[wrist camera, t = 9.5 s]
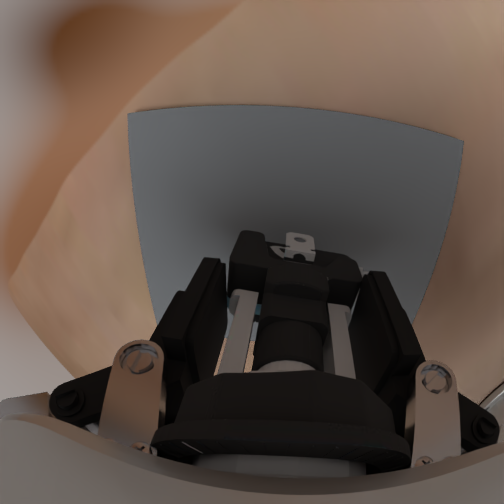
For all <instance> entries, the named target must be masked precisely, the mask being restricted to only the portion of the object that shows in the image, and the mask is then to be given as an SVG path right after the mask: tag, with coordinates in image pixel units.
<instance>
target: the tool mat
mask: <svg viewBox="0 0 504 504" xmlns="http://www.w3.org/2000/svg"><path fill="white" fill-rule="evenodd" d="M128 137H129V154H130V167H131V178H132V187H133V196H134V205H135V212H136V220H137V226H138V233H139V239H140V245H141V251H142V257H143V262H144V268H145V273H146V278H147V283H148V287H149V292H150V296H151V301H152V305H153V310H154V314H155V318H156V322H157V325H158V324H159V322H160V320H161V318H162V316H163V315H164V313H165V311H166V309H167V308H168V306H169V304H170V302H171V301H172V299H173V297H174V295H175V294H176V292H177V291H179V290H181V291H185V290H186V288H187V286H188V285H189V283H190V281H191V279H192V277H193V276H194V274H195V272H196V270H197V268H198V266H199V265H200V263H201V261H202V259H203V258H204V257H210V258H220V260H221V263H225V264H226V285H227V283H228V270H229V257H230V255H231V252H232V250H233V248H234V245H235V243H236V241H237V238H238V236H239V234H240V232H241V231H243V230H250V231H256V232H261V233H263V234H264V235H265V239H266V241H267V242H273V243H280V244H286V233H289V232H293V233H299V234H305V235H310V236H311V237H313V238H314V245H315V249H316V250H322V251H328V252H334V253H340V254H344V255H347V256H348V257H350V258H351V259H353V260H355V261H356V262H357V264H358V266H359V267H361V268H363V271H366V272H369V271H384V272H386V274H387V276H388V278H389V280H390V282H391V284H392V286H393V288H394V291H395V293H396V295H397V297H398V299H399V301H400V304H401V306H402V308H403V309H404V310H405V311H406V313H407V316H408V318H409V320H410V323H411V325H412V323H413V320H414V318H415V316H416V314H417V311H418V309H419V307H420V304H421V302H422V300H423V297H424V295H425V292H426V290H427V287H428V284H429V282H430V279H431V276H432V274H433V271H434V268H435V265H436V262H437V259H438V256H439V253H440V250H441V247H442V243H443V240H444V237H445V233H446V230H447V226H448V222H449V219H450V215H451V211H452V206H453V202H454V198H455V193H456V188H457V183H458V178H459V172H460V166H461V160H462V153H463V145H464V141H462V140H459V139H456V138H453V137H450V136H447V135H444V134H440V133H437V132H433V131H430V130H426V129H422V128H419V127H415V126H411V125H407V124H402V123H398V122H393V121H389V120H384V119H379V118H374V117H368V116H362V115H356V114H350V113H343V112H336V111H328V110H319V109H309V108H298V107H283V106H260V105H217V106H194V107H180V108H168V109H159V110H150V111H142V112H135V113H128ZM294 240H295V241H297V242H306V241H305V240H303V239H300V238H295V239H294ZM355 304H356V302H354V304H353V307H352V309H351V315H352V314H353V310H354V307H355ZM227 313H228V325H227V330H226V334H225V337H224V338H228V335H229V332H230V328H231V325H232V321H233V318H234V315H232V314H231V313H230V312H229V308H228V307H227ZM351 317H352V316H351ZM348 326H349V325H348ZM257 328H258V323H257V322H254V323H253V328H252V333H251V338H250V341H255V340H256V334H257Z"/></svg>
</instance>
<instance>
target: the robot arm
mask: <svg viewBox="0 0 504 504" xmlns="http://www.w3.org/2000/svg"><path fill="white" fill-rule="evenodd" d="M227 325H228V313H227V285H226V264H225V263H221V260H220V258H210V257H204V258H203V259H202V261H201V263H200V265H199V266H198V268H197V270H196V272H195V274H194V276H193V277H192V279H191V281H190V283H189V285H188V286H187V288H186V290H185V291H181V290H179V291H177V292H176V294H175V295H174V297H173V299H172V301H171V302H170V304H169V306H168V308H167V309H166V311H165V313H164V315H163V316H162V318H161V320H160V322H159V324H158V325H157V327H156V329H155V331H154V333H153V334H152V336H151V338H150V340H135V341H132V342H129V343H127V344H125V345H124V346H122V347H121V348H120V349H119V350H118V351H117V353H116V355H115V357H114V361H113V365H112V366H110V367H107V368H105V369H102V370H99V371H97V372H94V373H91V374H88V375H85V376H83V377H80V378H77V379H74V380H71V381H69V382H66V383H63V384H61V385H59V386H58V387H57V388H56V389H54V391H53V392H52V394H51V395H49V394H48V392H43V393H38V394H32V395H26V396H20V397H14V398H8V399H5V400H2V401H1V402H0V504H504V384H502V385H501V386H500V387H499V388H498V389H496V390H495V391H494V392H493V393H492V394H491V395H490V396H489V397H488V398H487V399H486V400H485V401H484V402H483V403H482V404H481V405H480V406H479V405H477V404H476V403H474V402H473V401H471V400H469V399H468V398H466V397H465V396H463V395H462V394H460V393H459V392H458V391H457V383H456V378H455V375H454V373H453V372H452V370H451V369H450V368H449V367H448V366H447V365H445V364H443V363H442V362H438V361H435V360H429V361H426V360H425V357H424V355H423V352H422V350H421V347H420V344H419V342H418V339H417V337H416V334H415V332H414V330H413V327H412V325H411V323H410V320H409V318H408V316H407V313H406V311H405V310H404V309H403V308H402V306H401V304H400V301H399V299H398V297H397V295H396V293H395V291H394V288H393V286H392V284H391V282H390V280H389V278H388V276H387V274H386V272H384V271H369V273H368V274H364V276H363V278H362V283H361V286H360V290H359V293H358V297H357V300H356V304H355V307H354V310H353V314H352V317H351V320H350V323H349V326H348V332H349V338H350V344H351V350H352V356H353V363H354V370H355V377H356V379H358V380H361V381H362V382H364V383H365V384H366V385H367V386H368V387H369V388H370V389H371V390H372V391H373V392H374V393H375V394H376V395H377V396H378V397H379V398H380V399H381V400H382V401H383V402H384V403H385V404H386V405H387V406H388V407H389V408H390V409H391V410H392V414H393V419H394V425H395V431H396V434H397V435H399V436H401V437H403V438H404V439H405V440H406V441H407V442H408V444H409V447H410V454H411V463H410V464H408V465H407V466H406V467H404V468H403V469H402V470H398V471H392V472H386V473H379V474H372V475H363V476H352V477H338V478H280V477H265V476H255V475H246V474H238V473H231V472H224V471H218V470H213V469H207V468H202V467H198V466H193V465H189V464H184V463H180V462H176V461H172V460H169V459H165V458H164V457H163V455H161V453H160V451H159V450H158V449H156V448H154V447H152V446H150V444H151V441H152V438H153V436H154V433H155V431H156V430H157V429H159V428H161V427H163V426H165V425H168V424H172V423H174V422H175V419H176V416H177V414H178V411H179V408H180V405H181V403H182V400H183V397H184V394H185V391H186V389H187V388H188V387H189V386H190V385H192V384H195V383H198V382H200V381H203V380H205V379H208V378H210V377H213V375H214V372H215V368H216V365H217V361H218V358H219V354H220V351H221V347H222V344H223V341H224V337H225V334H226V330H227Z"/></svg>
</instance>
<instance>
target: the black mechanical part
mask: <svg viewBox="0 0 504 504" xmlns="http://www.w3.org/2000/svg"><path fill="white" fill-rule="evenodd" d="M295 238H300V239H303V240H305V241H306V242H297V241H295V240H294V239H295ZM368 273H369V272H366V271H363V268H361V267H359V266H358V264H357V262H356V261H355V260H353V259H351V258H350V257H348V256H347V255H344V254H340V253H334V252H328V251H322V250H316V249H315V245H314V238H313V237H311V236H310V235H305V234H299V233H293V232H289V233H286V244H280V243H273V242H267V241H266V239H265V235H264V234H263V233H261V232H256V231H250V230H243V231H241V232H240V234H239V236H238V238H237V241H236V243H235V245H234V248H233V250H232V252H231V255H230V257H229V270H228V283H227V307H228V308H229V312H230V313H231V314H232V315H234V318H233V321H232V325H231V328H230V332H229V335H228V339H227V342H226V346H225V349H224V353H223V356H222V360H221V363H220V367H219V370H218V374H217V375H215V376H213V377H210V378H208V379H205V380H203V381H200V382H198V383H195V384H192V385H190V386H189V387H188V388H187V389H186V391H185V394H184V397H183V400H182V403H181V405H180V408H179V411H178V414H177V416H176V419H175V422H174V423H172V424H168V425H165V426H163V427H161V428H159V429H157V430H156V431H155V433H154V436H153V438H152V441H151V444H150V446H152V447H154V448H156V449H158V450H159V451H160V453H161V455H163V457H164V458H165V459H169V460H172V461H176V462H180V463H184V464H189V465H193V466H198V467H202V468H207V469H213V470H218V471H224V472H231V473H238V474H246V475H255V476H265V477H280V478H338V477H352V476H363V475H372V474H379V473H386V472H392V471H398V470H402V469H403V468H404V467H406V466H407V465H408V464H410V463H411V454H410V447H409V444H408V442H407V441H406V440H405V439H404V438H403V437H401V436H399V435H397V434H396V431H395V425H394V419H393V414H392V410H391V409H390V408H389V407H388V406H387V405H386V404H385V403H384V402H383V401H382V400H381V399H380V398H379V397H378V396H377V395H376V394H375V393H374V392H373V391H372V390H371V389H370V388H369V387H368V386H367V385H366V384H365V383H364V382H362V381H361V380H358V379H356V377H355V370H354V363H353V356H352V350H351V344H350V338H349V332H348V325H349V323H350V320H351V316H352V315H351V309H352V307H353V304H354V302H356V300H357V297H358V293H359V290H360V286H361V283H362V278H363V276H364V274H368ZM254 322H257V323H258V328H257V334H256V340H255V345H254V351H253V355H254V360H253V366H252V371H251V372H248V373H244V368H245V363H246V358H247V353H248V348H249V343H250V338H251V333H252V328H253V323H254Z"/></svg>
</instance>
